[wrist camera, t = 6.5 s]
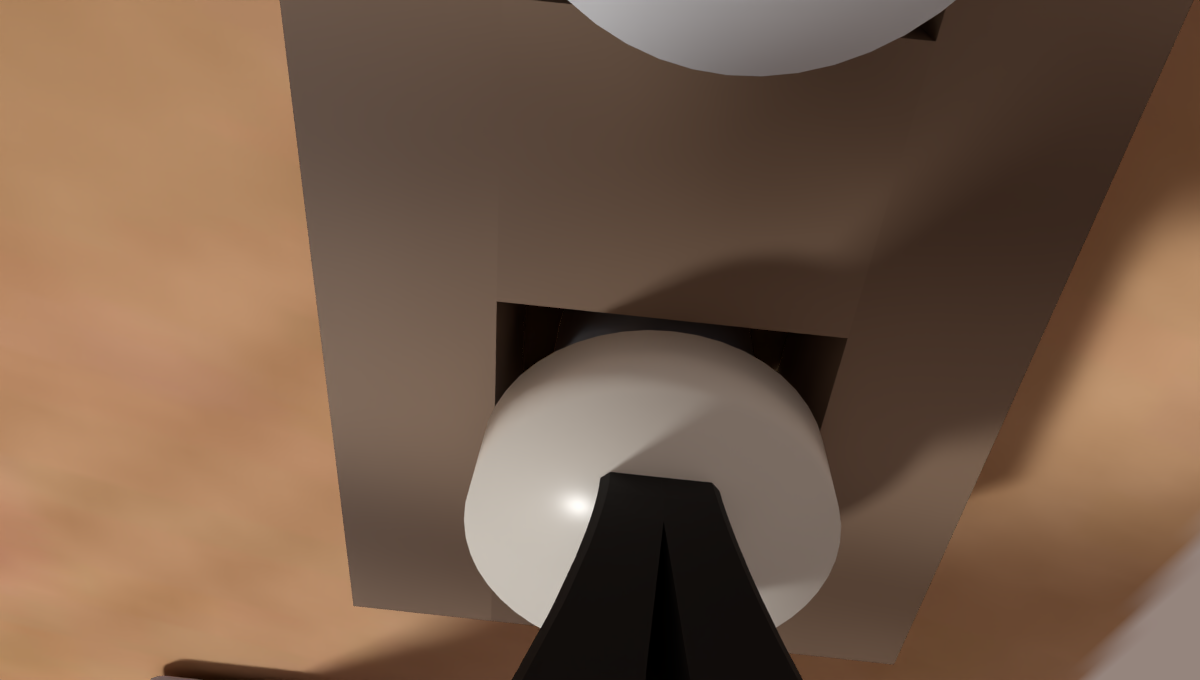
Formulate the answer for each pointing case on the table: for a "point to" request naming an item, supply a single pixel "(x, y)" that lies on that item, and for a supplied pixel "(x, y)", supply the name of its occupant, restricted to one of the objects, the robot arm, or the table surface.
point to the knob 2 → (650, 455)
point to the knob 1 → (758, 30)
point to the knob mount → (699, 249)
